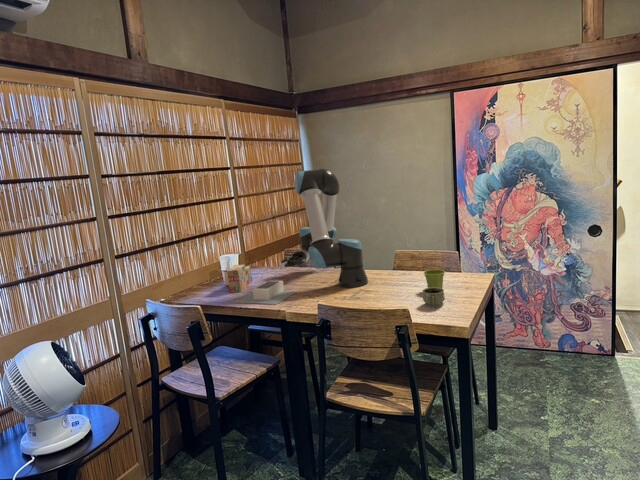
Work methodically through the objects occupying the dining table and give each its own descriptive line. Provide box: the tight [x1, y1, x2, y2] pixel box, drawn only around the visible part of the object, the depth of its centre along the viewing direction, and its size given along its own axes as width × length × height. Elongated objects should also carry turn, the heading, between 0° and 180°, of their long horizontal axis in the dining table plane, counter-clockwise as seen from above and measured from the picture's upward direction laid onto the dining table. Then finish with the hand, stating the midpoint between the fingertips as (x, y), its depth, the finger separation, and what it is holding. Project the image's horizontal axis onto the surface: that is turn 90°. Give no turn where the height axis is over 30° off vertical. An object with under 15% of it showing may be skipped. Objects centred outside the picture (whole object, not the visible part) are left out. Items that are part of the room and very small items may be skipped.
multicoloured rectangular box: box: [226, 264, 253, 293], centre depth 238 cm, size 21×6×12 cm, turn 172°
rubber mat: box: [233, 290, 298, 305], centre depth 213 cm, size 24×20×1 cm
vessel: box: [422, 287, 446, 309], centre depth 177 cm, size 12×9×6 cm
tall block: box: [252, 280, 285, 300], centre depth 215 cm, size 8×5×16 cm
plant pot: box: [423, 269, 446, 289], centre depth 196 cm, size 9×9×9 cm
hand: (280, 267), depth 227 cm, fingers closed
